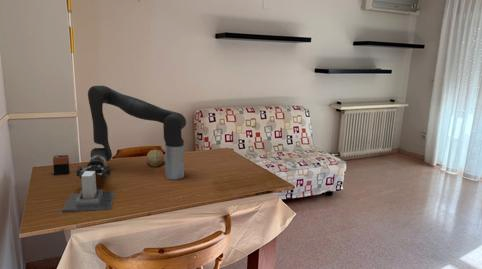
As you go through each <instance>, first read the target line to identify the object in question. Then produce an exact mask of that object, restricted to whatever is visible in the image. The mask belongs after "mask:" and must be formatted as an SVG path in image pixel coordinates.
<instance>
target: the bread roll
mask: <svg viewBox="0 0 482 269" xmlns="http://www.w3.org/2000/svg"><path fill="white" fill-rule="evenodd" d="M146 160H147V163H148V164H149V166H151V167H153V168H157V167H159V166H161V165H162V164H163V162H164V160H165V155H164V152H163V151H162V150H161V149H151V150H150V151H148V152H147V155H146Z"/></svg>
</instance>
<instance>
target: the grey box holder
mask: <svg viewBox="0 0 482 269" xmlns="http://www.w3.org/2000/svg"><path fill="white" fill-rule="evenodd" d="M96 191H97V197H96V198H93V199H83V193H82V189H80V191H79V193H78V192H77V193H70V194H69V197H68V198H67V199H66V202H65V204H64V206H63V207H62V209H61V212H62V213H74V212H76V213H77V212H88V211H89V212H90V211H103V210H111V209H112V205H113V201H114V197H115V191H103V188H102V189H101V188H100V189H99V188H96Z"/></svg>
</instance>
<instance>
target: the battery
mask: <svg viewBox="0 0 482 269" xmlns="http://www.w3.org/2000/svg"><path fill="white" fill-rule="evenodd" d="M52 164H53V166H52V167H53V174H54V176H59V175H69V174H70V158H69V155H68V154H67V153H63V154H61V155H59V154H55V155H54V156H53V157H52Z"/></svg>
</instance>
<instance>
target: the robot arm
mask: <svg viewBox="0 0 482 269" xmlns="http://www.w3.org/2000/svg"><path fill="white" fill-rule="evenodd" d="M87 98H88V105H89V109H90V113H91V120H92V128H93V130H92V131H93V132H92V133H93V143H94V144H96V145H101V146H103V147H99V148H98V147H95V148H92V149H91V150H90V152H89V153H90V155H89V156H90V160H89V162H88V164H87V166H86V167H84V168H83V166H79V167H78V168H77V169H76V171H75V172H76V177H79V179H81V176H82V175H83V173H84V172H85V171H95V176H98V175H99V176H101V178H102V179H104V178H105V177H106V176H107V175H108V176H111V173H112V168H111V166H112V165H106V164H107V162H109V161H110V160H112V158H113V152H112V149H111V147H110V146H111V145H110V143H109V133H108V132H109V130H108V129H109V128H108V124H107V122H106V119H105V116H104V112H103V105H104V104H106V105H111V106H114V107H117V108H119V109H120V110H121V111H123V112H124V113H126V114H127V115H129V116H132V117H134V118H137V119H140V120H144V121H154V122H158V123H161V124H163V126H162V128H163V140H164V143H165V144H164V146H165V148H164V150H165V152H164V153H165V155H164V161H165V164H164V166H165V171H164V173H165V178H166V179H168V180H180V179H184V178H185V159H184V154H185V153H184V152H185V148H184V146H185V145H184V144H185V143H184V142H185V141H184V138H183V136H182V130H183V129H184V128H185V127H186V125H187V120H186V117H185V116H184V115H183V114H182V113H180V112H176V111H173V110H169V109H164V108H162V107H160V106H157V105H154V104H152V103H150V102H147V101H144V100H142V99H139V98H136V97H133V96H130V95H127V94H123V93H120V92H118V91H117V90H115V89H112V88H110V87H108V86H106V85H92V86H91V87H90V88H88V90H87ZM106 166H107V167H106Z"/></svg>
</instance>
